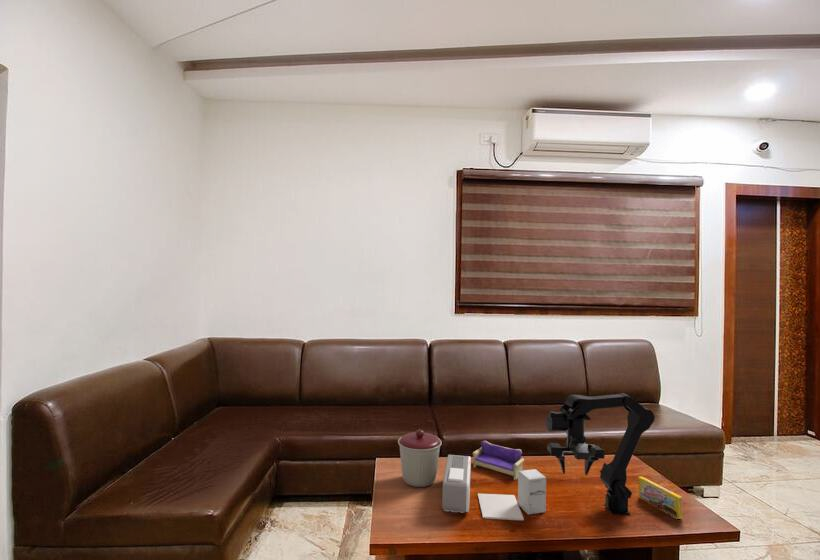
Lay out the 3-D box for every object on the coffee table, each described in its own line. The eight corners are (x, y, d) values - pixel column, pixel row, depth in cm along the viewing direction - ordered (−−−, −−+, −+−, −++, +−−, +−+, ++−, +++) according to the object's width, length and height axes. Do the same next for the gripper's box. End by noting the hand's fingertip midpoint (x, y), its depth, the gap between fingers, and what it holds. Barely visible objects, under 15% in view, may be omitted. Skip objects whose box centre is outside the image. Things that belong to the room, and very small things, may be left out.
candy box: (637, 498, 157) (638, 476, 157) (642, 497, 158) (642, 475, 158) (678, 521, 142) (678, 497, 142) (682, 519, 142) (682, 496, 142)
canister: (439, 494, 157) (440, 439, 157) (393, 489, 159) (394, 436, 160) (442, 473, 174) (443, 424, 175) (401, 469, 177) (402, 421, 178)
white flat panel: (514, 496, 156) (514, 495, 156) (523, 520, 140) (523, 518, 140) (477, 494, 157) (477, 493, 157) (482, 518, 141) (483, 516, 141)
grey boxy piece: (468, 518, 141) (469, 483, 141) (441, 515, 142) (442, 481, 143) (470, 481, 168) (470, 452, 168) (447, 479, 169) (448, 450, 170)
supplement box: (528, 515, 143) (528, 479, 143) (517, 504, 150) (517, 470, 151) (546, 512, 145) (546, 477, 145) (534, 502, 152) (535, 468, 152)
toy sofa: (471, 467, 181) (472, 444, 181) (480, 461, 188) (480, 438, 188) (516, 481, 169) (517, 456, 169) (524, 474, 176) (524, 450, 176)
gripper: (556, 437, 140) (555, 483, 140) (611, 440, 139) (610, 486, 139) (547, 426, 151) (546, 469, 151) (598, 429, 150) (597, 471, 150)
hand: (574, 474), depth 147 cm, fingers open, 8 cm apart
